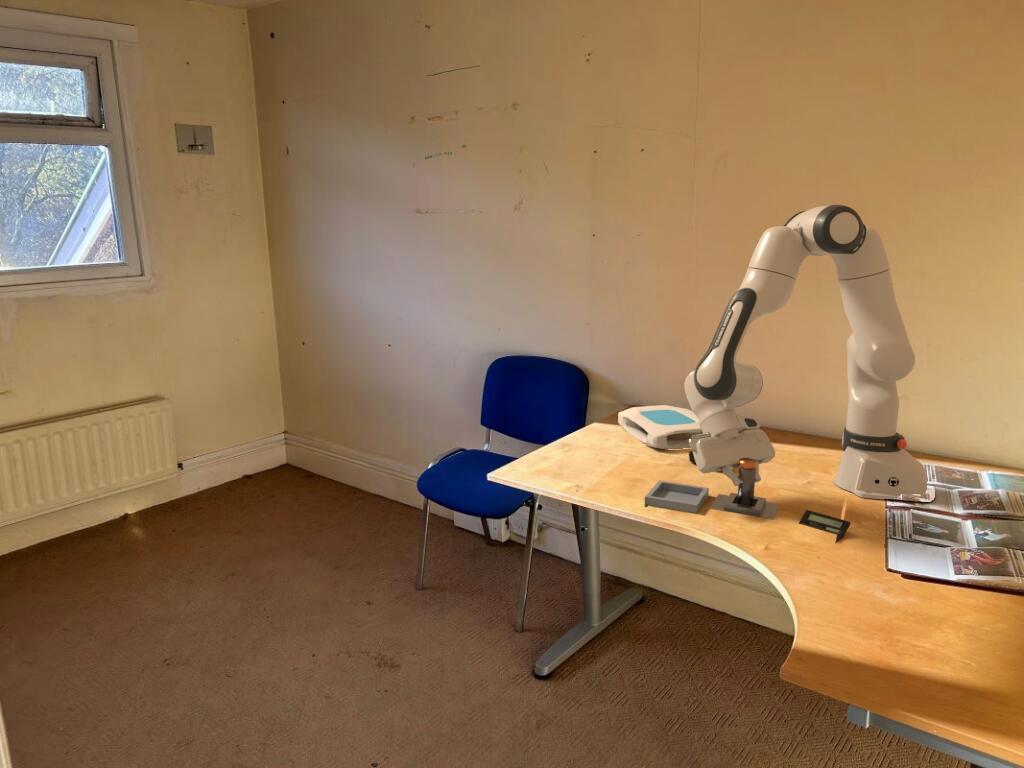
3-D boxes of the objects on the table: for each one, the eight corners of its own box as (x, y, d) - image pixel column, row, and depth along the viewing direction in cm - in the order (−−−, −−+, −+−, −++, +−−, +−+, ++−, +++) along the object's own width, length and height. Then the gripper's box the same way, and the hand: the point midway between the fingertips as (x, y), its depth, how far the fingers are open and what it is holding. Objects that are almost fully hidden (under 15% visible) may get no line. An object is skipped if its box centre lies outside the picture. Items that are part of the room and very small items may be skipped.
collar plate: (779, 506, 171) (780, 498, 171) (773, 521, 163) (774, 514, 162) (718, 496, 177) (718, 489, 177) (709, 511, 169) (709, 503, 168)
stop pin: (754, 504, 171) (757, 459, 168) (751, 510, 167) (755, 464, 165) (738, 502, 172) (741, 457, 170) (735, 507, 169) (738, 461, 167)
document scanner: (654, 452, 211) (654, 431, 210) (616, 426, 238) (617, 407, 236) (720, 446, 216) (721, 426, 215) (677, 421, 243) (677, 403, 241)
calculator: (782, 537, 155) (783, 524, 155) (806, 521, 163) (807, 509, 163) (826, 551, 149) (827, 537, 148) (849, 534, 157) (850, 521, 156)
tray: (708, 497, 177) (708, 487, 176) (696, 515, 166) (696, 505, 166) (659, 489, 182) (659, 480, 181) (644, 506, 172) (644, 496, 171)
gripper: (692, 429, 168) (717, 483, 162) (763, 419, 176) (790, 470, 169) (680, 442, 173) (704, 496, 167) (750, 432, 181) (775, 482, 174)
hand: (748, 483), depth 168 cm, fingers closed on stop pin, 4 cm apart
